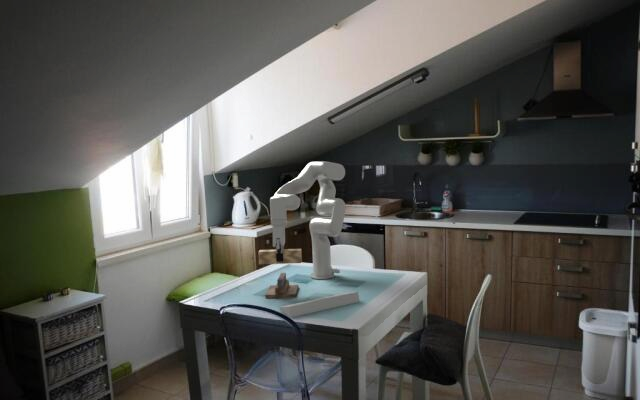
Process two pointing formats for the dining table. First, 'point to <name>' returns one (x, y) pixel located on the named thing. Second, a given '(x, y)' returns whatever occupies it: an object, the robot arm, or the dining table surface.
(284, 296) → the ridge stand
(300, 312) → the decorative molding
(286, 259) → the wooden block
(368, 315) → the dining table surface
